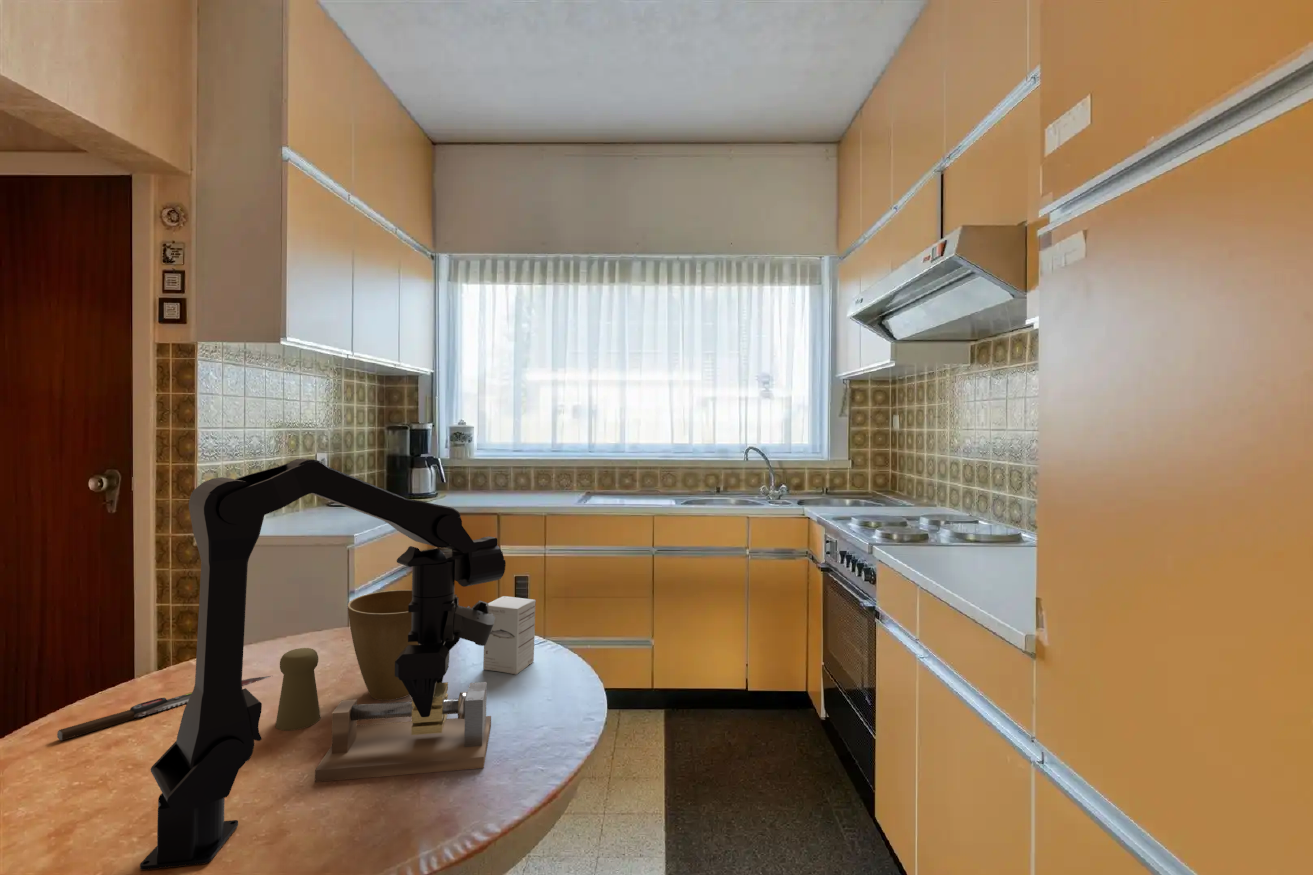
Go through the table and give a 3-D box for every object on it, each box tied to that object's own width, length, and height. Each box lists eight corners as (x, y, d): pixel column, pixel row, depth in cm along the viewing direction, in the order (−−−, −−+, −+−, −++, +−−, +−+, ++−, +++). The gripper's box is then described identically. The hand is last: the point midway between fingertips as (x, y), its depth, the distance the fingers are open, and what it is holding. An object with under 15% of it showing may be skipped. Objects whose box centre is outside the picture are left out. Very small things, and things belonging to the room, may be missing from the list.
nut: (441, 732, 84) (442, 696, 84) (411, 734, 83) (411, 698, 83) (447, 716, 89) (447, 682, 89) (418, 717, 88) (419, 683, 88)
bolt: (482, 745, 84) (482, 699, 84) (337, 756, 81) (337, 708, 81) (486, 725, 90) (486, 681, 90) (351, 734, 87) (351, 689, 87)
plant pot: (336, 715, 95) (338, 615, 95) (356, 678, 110) (358, 591, 110) (435, 705, 99) (437, 609, 99) (442, 671, 114) (444, 587, 114)
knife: (283, 671, 111) (62, 734, 85) (281, 680, 111) (61, 746, 86) (275, 664, 113) (56, 725, 87) (273, 673, 113) (54, 737, 87)
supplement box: (481, 670, 114) (483, 604, 114) (502, 656, 122) (503, 594, 122) (516, 675, 112) (517, 608, 112) (535, 661, 119) (536, 598, 119)
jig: (483, 767, 81) (484, 716, 81) (314, 781, 77) (315, 727, 77) (491, 725, 93) (491, 680, 93) (344, 735, 89) (345, 688, 89)
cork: (299, 732, 90) (301, 659, 90) (265, 727, 91) (266, 655, 91) (329, 714, 96) (330, 645, 96) (296, 710, 97) (297, 642, 97)
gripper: (485, 609, 78) (483, 729, 78) (496, 575, 96) (494, 672, 96) (394, 612, 76) (392, 735, 76) (423, 577, 94) (421, 676, 94)
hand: (431, 701), depth 86 cm, fingers open, 9 cm apart
